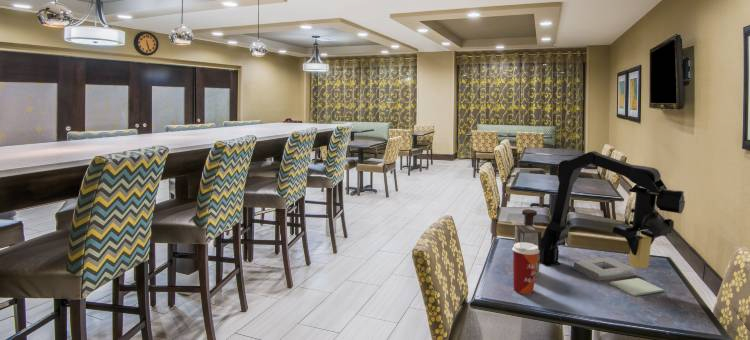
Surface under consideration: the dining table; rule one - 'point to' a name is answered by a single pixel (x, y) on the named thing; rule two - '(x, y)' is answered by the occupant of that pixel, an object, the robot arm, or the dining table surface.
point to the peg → (641, 253)
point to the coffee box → (529, 239)
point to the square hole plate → (610, 272)
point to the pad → (636, 286)
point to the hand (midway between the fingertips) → (639, 254)
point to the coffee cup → (524, 266)
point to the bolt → (529, 216)
